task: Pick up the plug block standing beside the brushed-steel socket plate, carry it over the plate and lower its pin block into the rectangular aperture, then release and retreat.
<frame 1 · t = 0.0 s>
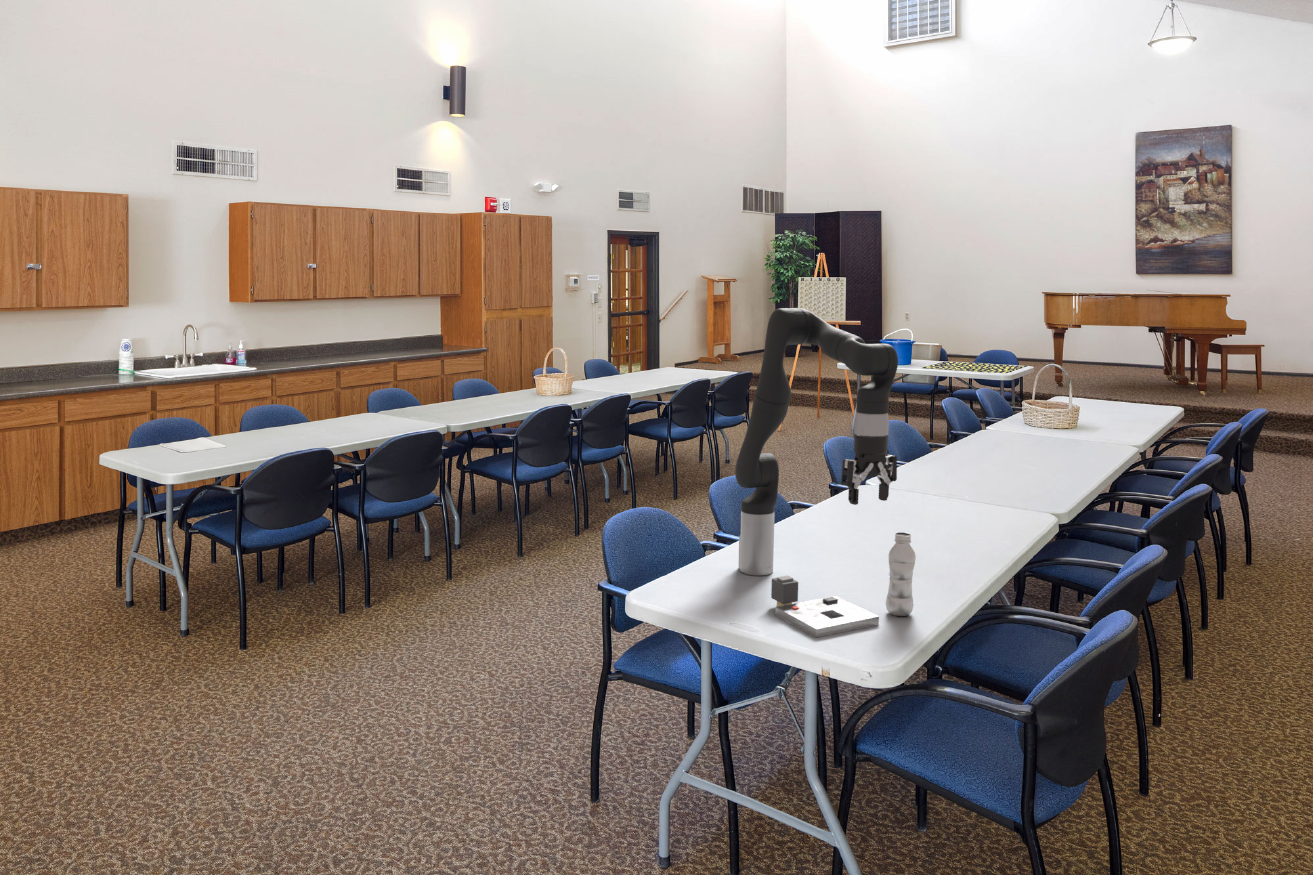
hand: (868, 502, 204), 29 cm above the table, fingers open, 8 cm apart
socket plate: (826, 619, 211), on the table
plastic bottle: (899, 615, 215), on the table
plug: (784, 607, 219), on the table
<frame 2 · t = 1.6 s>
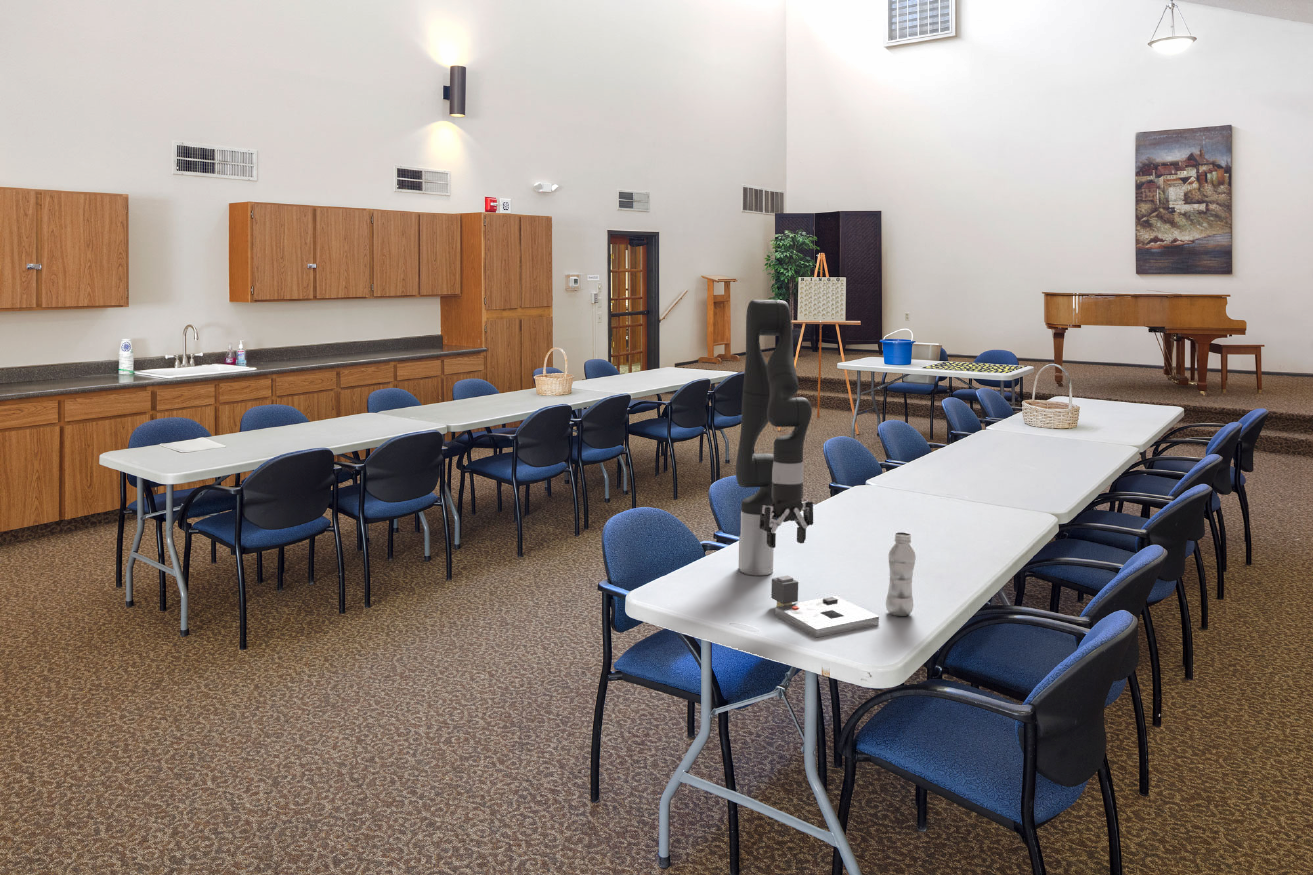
hand: (786, 544, 217), 16 cm above the table, fingers open, 8 cm apart
nothing on the table moved.
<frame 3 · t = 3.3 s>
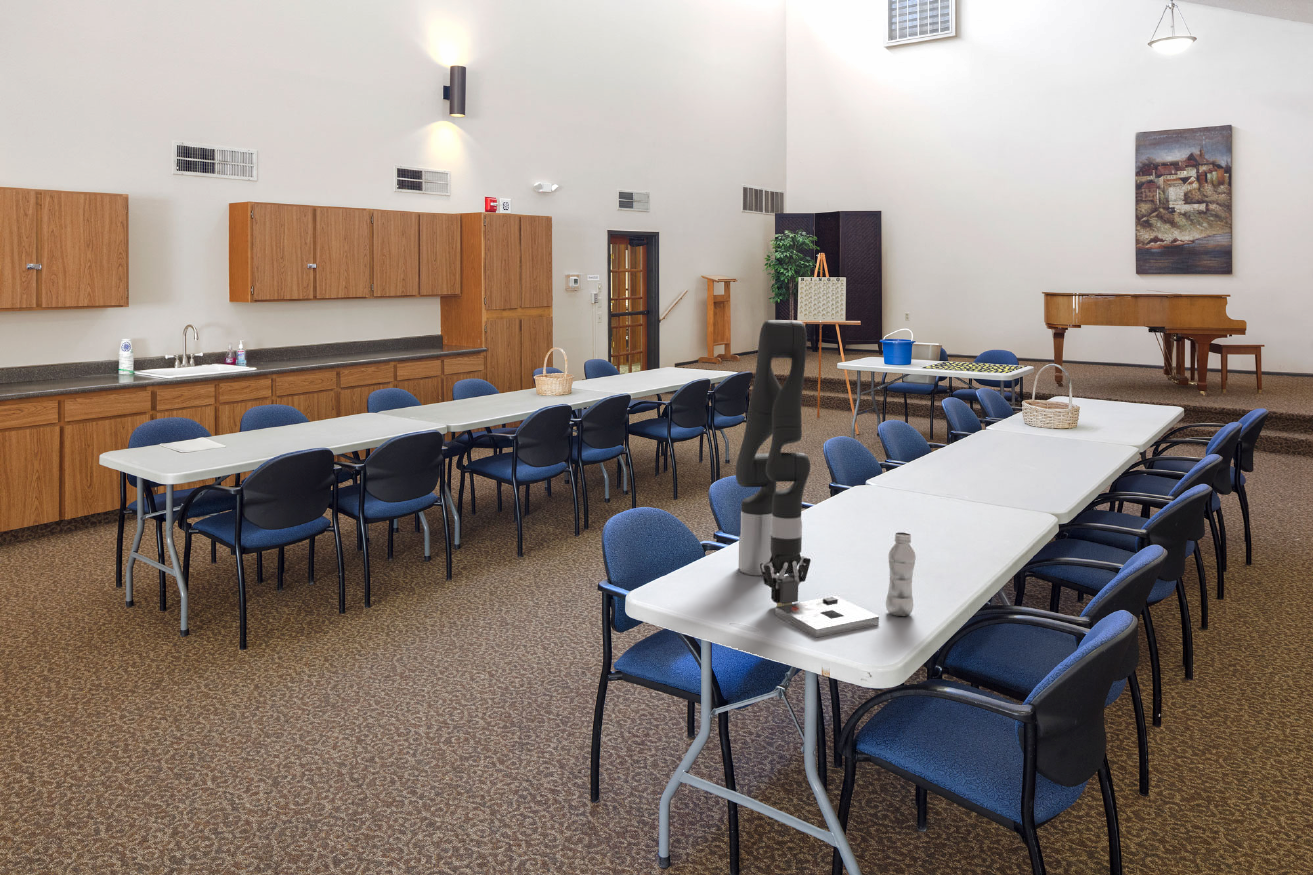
hand: (784, 600, 219), 2 cm above the table, fingers closed on plug, 4 cm apart
plug: (784, 607, 219), on the table, touching gripper
everything else where it was.
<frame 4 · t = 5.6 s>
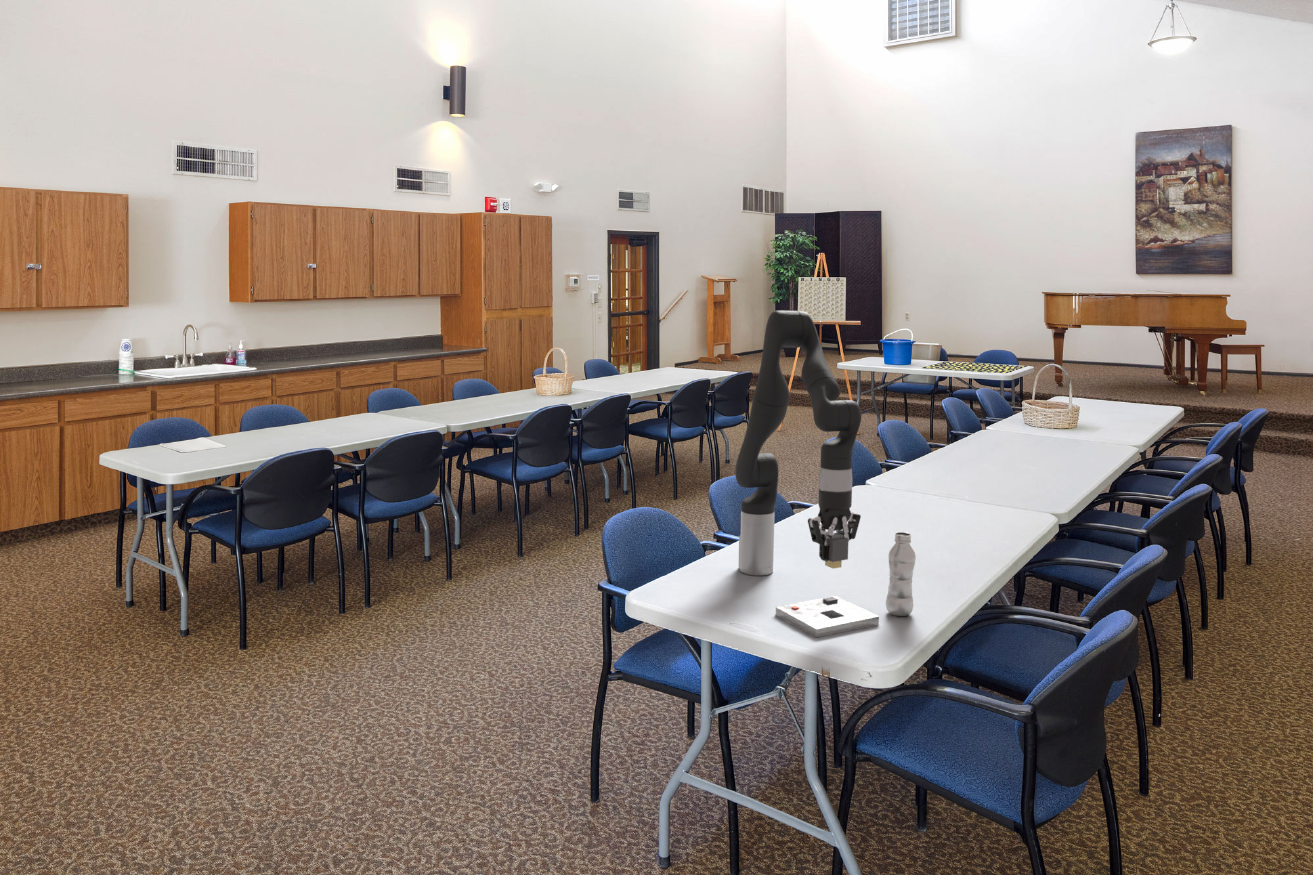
hand: (833, 558, 206), 16 cm above the table, fingers closed on plug, 4 cm apart
plug: (833, 566, 207), point 14 cm above the table, touching gripper
everything else where it was.
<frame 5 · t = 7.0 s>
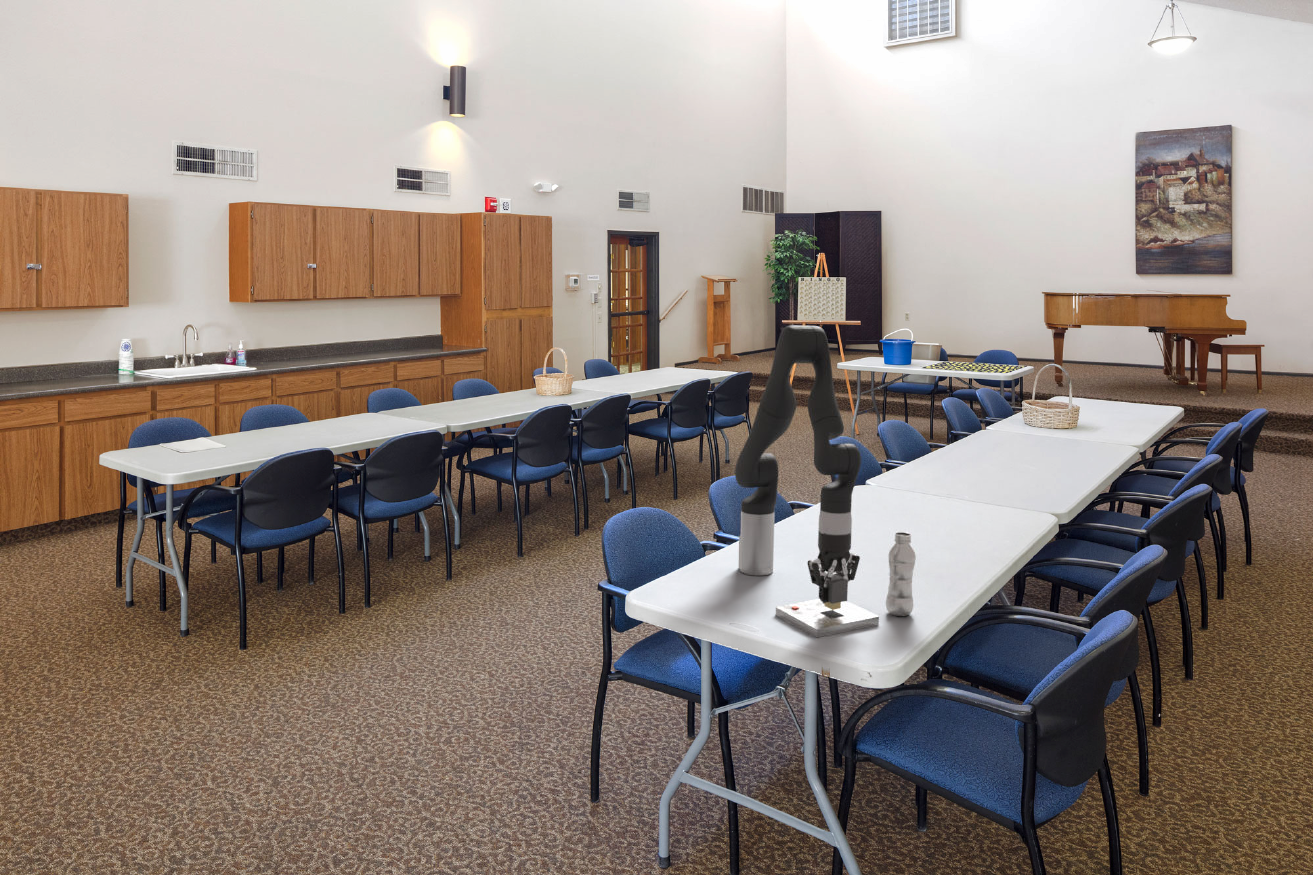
hand: (832, 599, 208), 6 cm above the table, fingers closed on plug, 4 cm apart
plug: (832, 607, 208), point 4 cm above the table, touching gripper
everything else where it was.
when the fingers open (3 cm above the table, at t = 7.9 s): plug stays where it is, resting on socket plate.
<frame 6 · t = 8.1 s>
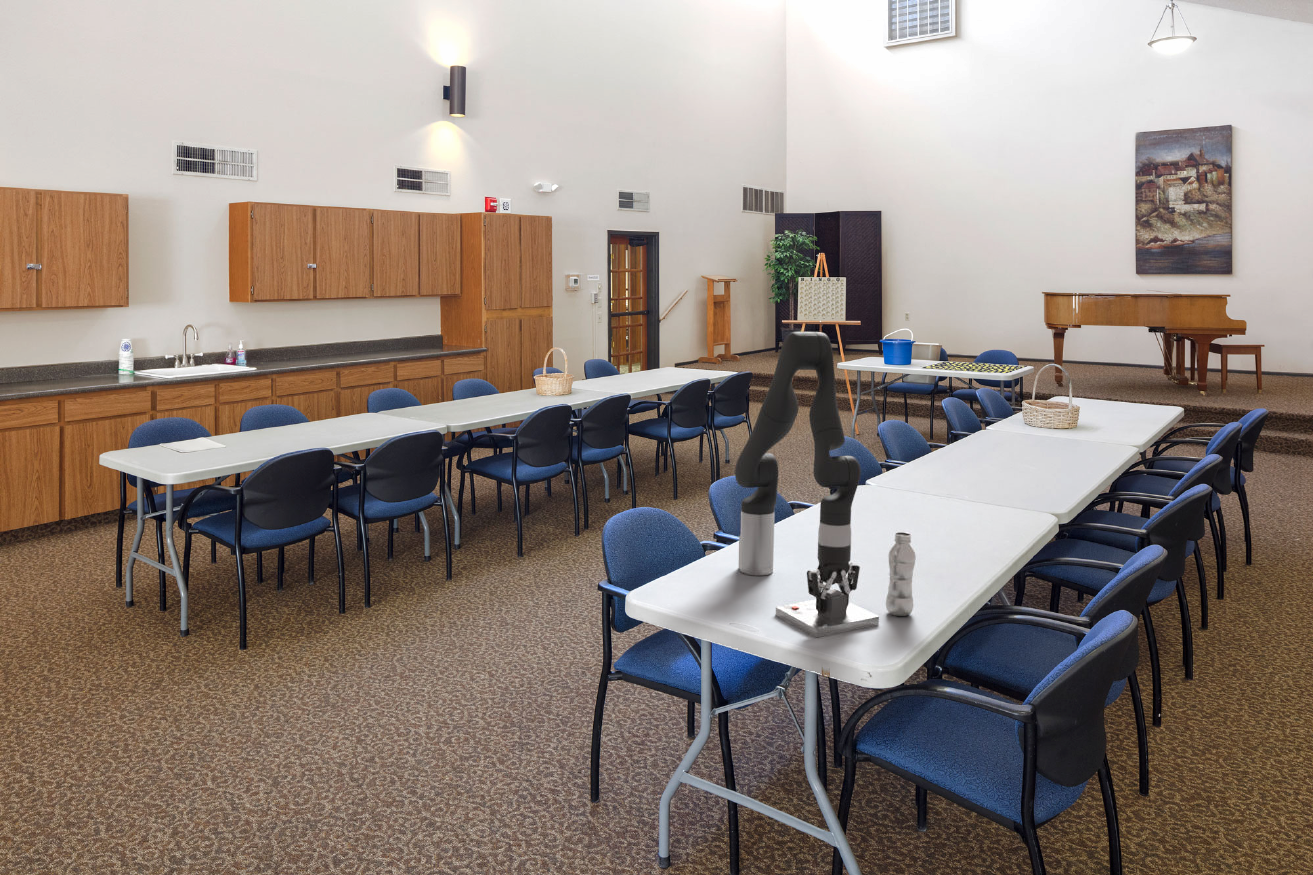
hand: (832, 610, 209), 3 cm above the table, fingers open, 6 cm apart
plug: (831, 622, 209), resting on socket plate
everything else where it was.
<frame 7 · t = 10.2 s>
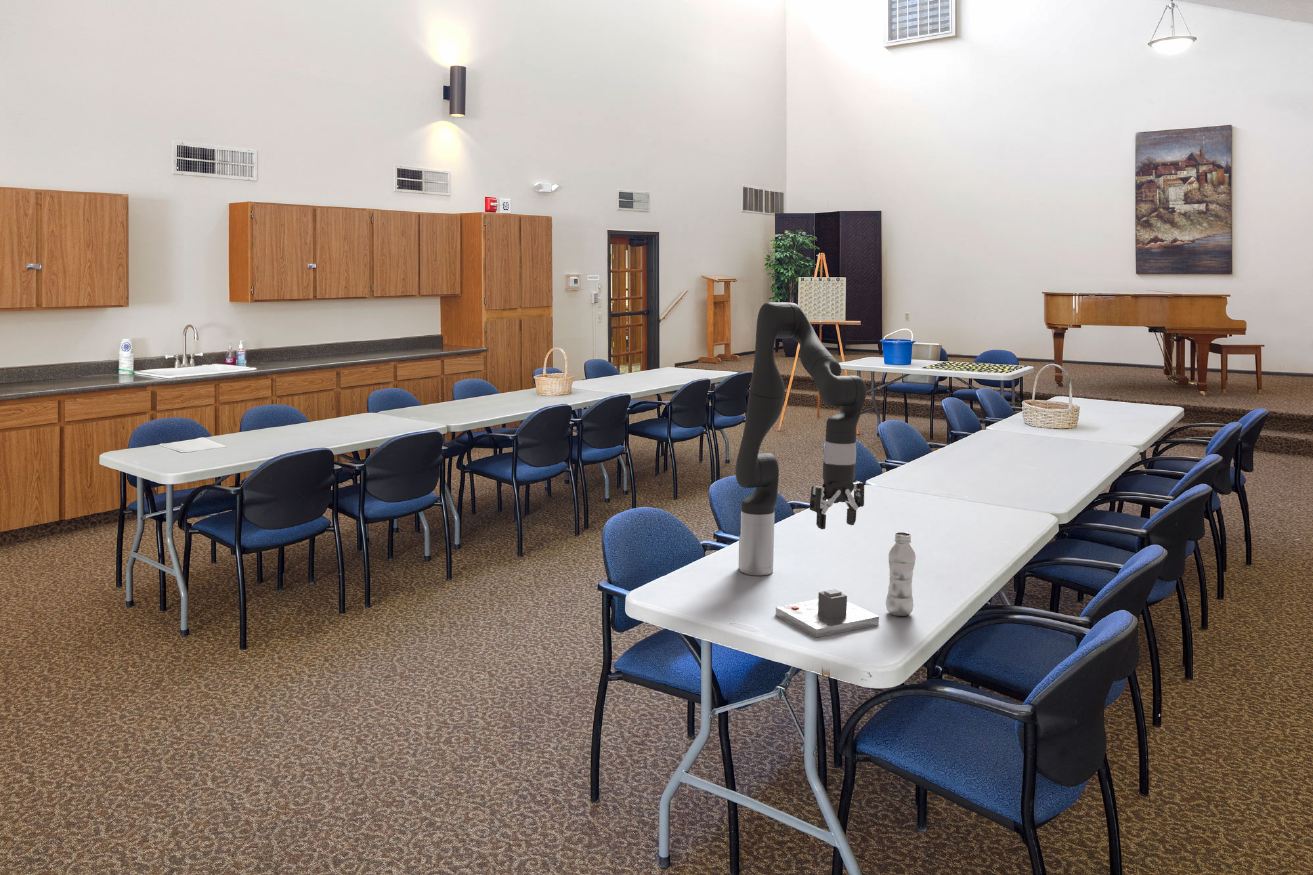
hand: (835, 526, 212), 22 cm above the table, fingers open, 8 cm apart
nothing on the table moved.
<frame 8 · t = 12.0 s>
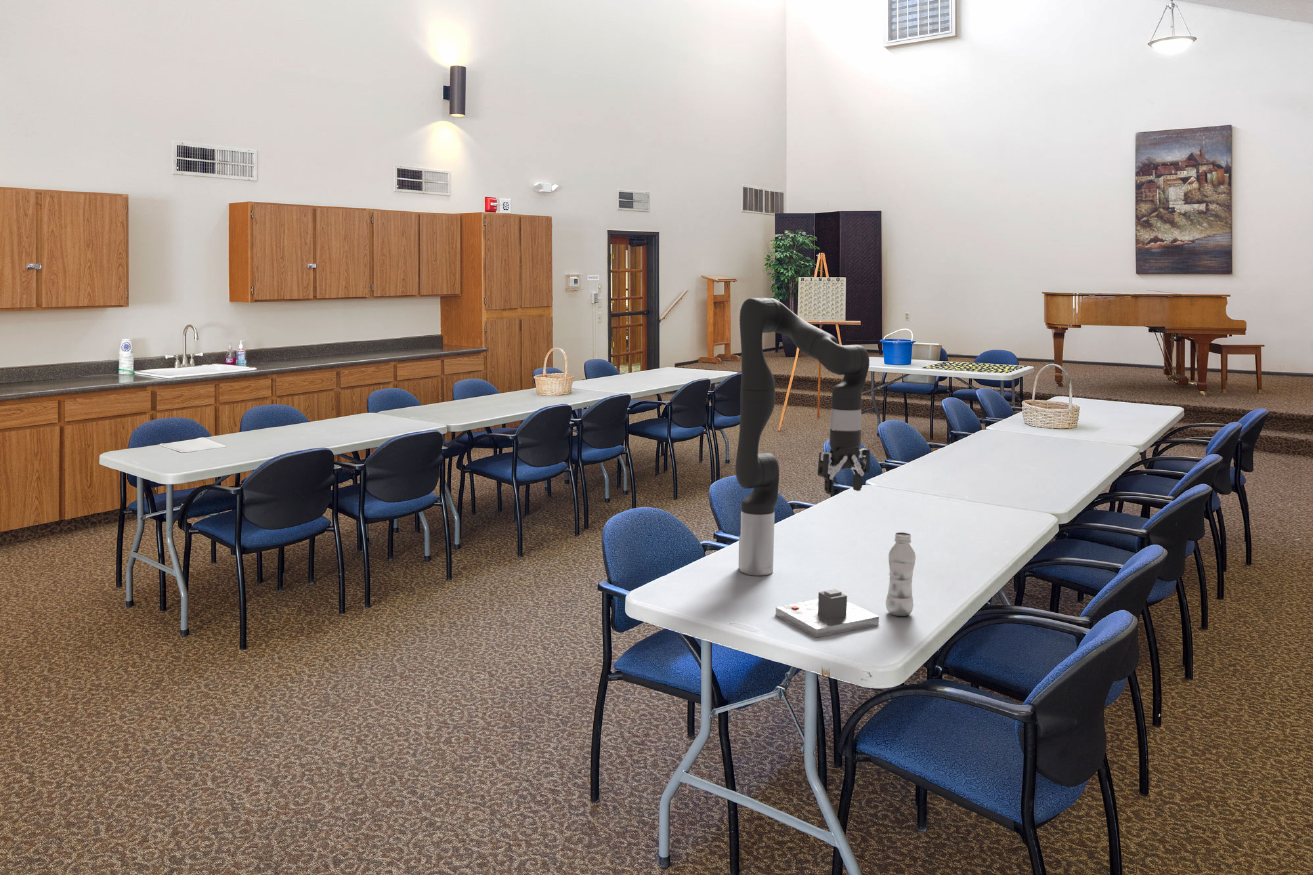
hand: (843, 492, 219), 28 cm above the table, fingers open, 8 cm apart
nothing on the table moved.
at the end: plug 0.0 cm from the target spot on the socket plate, point 0.0 cm above the socket plate's base; plug tilted 0°; the gripper is holding nothing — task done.
